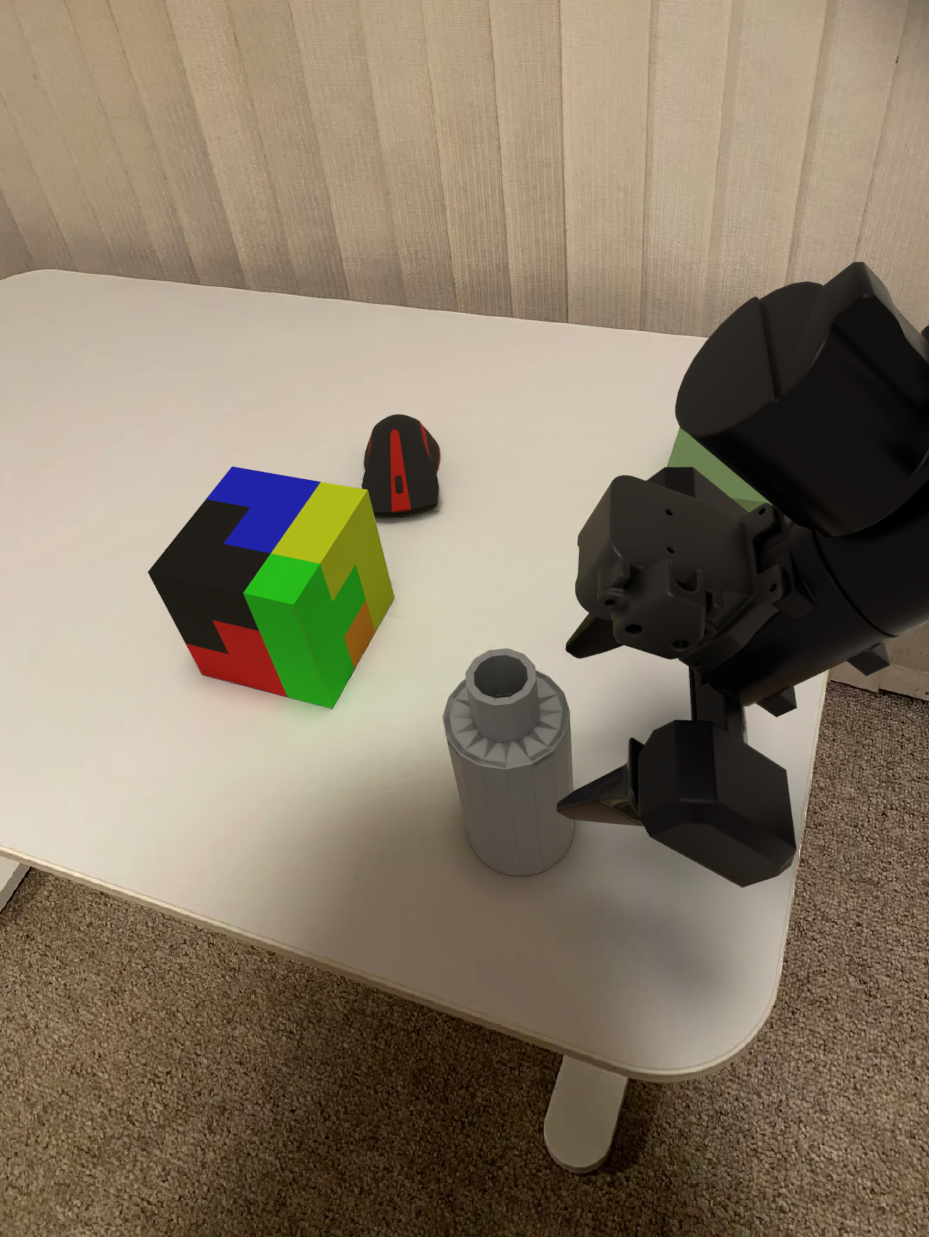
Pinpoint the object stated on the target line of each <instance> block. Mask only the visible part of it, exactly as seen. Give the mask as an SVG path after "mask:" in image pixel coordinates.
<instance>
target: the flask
mask: <svg viewBox="0 0 929 1237" xmlns="http://www.w3.org/2000/svg"><path fill="white" fill-rule="evenodd" d="M535 665H536V664H534V662H532V661H531V659H530V658H529V657H528V656H527V655H526V653H523V652H520V651H517V650H514V649H512V648H507V647H506V648H496V649H489V650H487V651H485V652H483V653H482V654H480V655H478V656H476V657H474V658H473V660H472V661H471V662H470V665H469V666H468V668H467V669H466V671H465V673H464V674H465V675H464V676H465V678H464V679H463V680H462V681H461V682H459V684H458V685H457V686H456V687H455V689H454V690H452V692H451V693H450V695H449V696H448V698H447V700H446V704H445V708H444V711H443V714H442V723H443V727H444V728H443V729H444V734H445V738H446V742H447V748H448V752H449V756H450V760H451V761H450V762H451V765H452V770H453V774H454V779H455V782H456V788H457V792H458V796H459V801H460V806H461V810H462V815H463V819H464V824H465V827H466V828H465V829H466V832H467V837H468V841H469V844H470V846H471V848H472V850H473V852H474V853H475V855H476V856H477V857H478V859H479V860H480V861H481V862H482V863H483V864H485V865H486V866H487V867H489V869H492V870H493V871H495V872H498V873H500V874H503V875H506V876H507V875H508V876H512V877H528V876H534V875H537V874H540V873H542V872H544V871H547V870H549V869H550V868H552V867H554V866H555V865H556V864H557V863H558V862H560V860H562V859H563V858H564V856H565V855H566V854H567V852H568V851H569V848H570V847H571V844H572V842H573V839H574V834H575V833H574V832H575V823H576V820H572V819H569V818H567V817H565V816H563V815H562V814H560V813H558V812H557V810H556V809H557V803H558V802H559V801H560V800H562V799H563V798H565V797H566V796H567V795H569V794H570V793H572V792H573V791H574V774H573V773H574V771H573V751H572V750H573V749H572V746H573V745H572V727H571V710H570V707H569V703H568V701H567V697H566V694H565V692H564V690H563V689H562V688H561V687H560V685H558V684H557V682H555V681H554V680H553V678H551V676H549V675H547V674H545V673H543V672H541V671H539V670H538V669H536V666H535Z"/></svg>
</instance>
